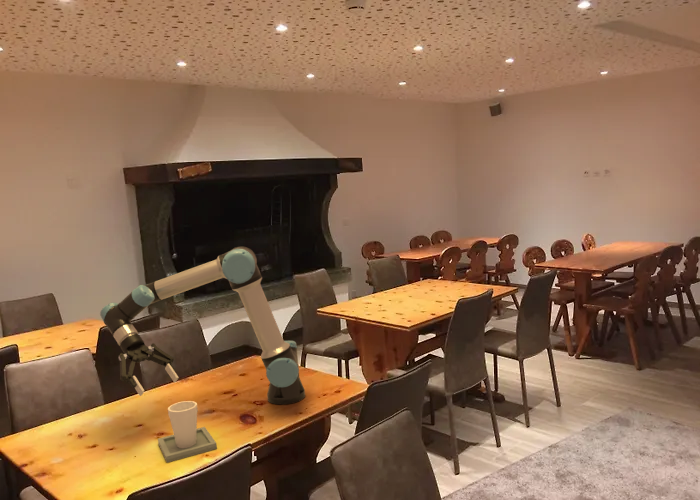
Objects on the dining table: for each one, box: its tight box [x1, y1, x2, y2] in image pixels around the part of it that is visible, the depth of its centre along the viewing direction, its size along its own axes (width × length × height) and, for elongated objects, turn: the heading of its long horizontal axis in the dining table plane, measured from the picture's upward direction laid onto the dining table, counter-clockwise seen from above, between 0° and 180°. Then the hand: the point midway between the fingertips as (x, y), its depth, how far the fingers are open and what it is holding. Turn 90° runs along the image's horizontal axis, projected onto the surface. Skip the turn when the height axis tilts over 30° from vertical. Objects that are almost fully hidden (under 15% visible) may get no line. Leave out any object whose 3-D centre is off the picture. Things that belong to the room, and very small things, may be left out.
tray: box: [157, 426, 218, 464], centre depth 191 cm, size 16×16×2 cm
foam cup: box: [167, 400, 199, 448], centre depth 190 cm, size 10×9×13 cm
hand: (159, 386), depth 195 cm, fingers open, 13 cm apart
